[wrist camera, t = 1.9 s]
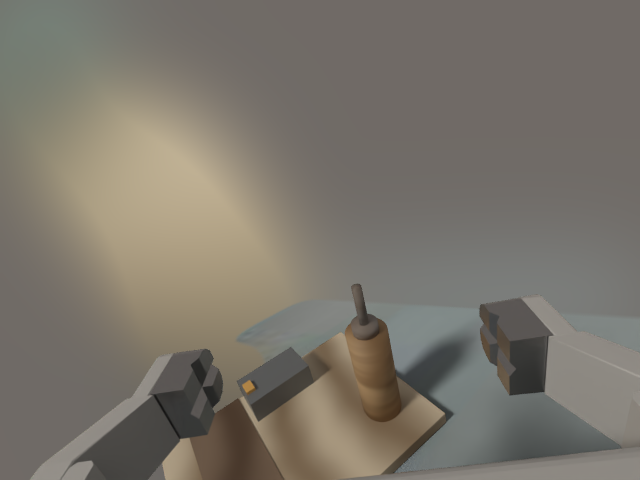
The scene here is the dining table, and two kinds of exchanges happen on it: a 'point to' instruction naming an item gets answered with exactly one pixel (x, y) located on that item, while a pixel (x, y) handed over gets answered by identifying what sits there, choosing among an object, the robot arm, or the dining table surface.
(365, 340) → the awl
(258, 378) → the block
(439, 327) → the dining table surface
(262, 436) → the subfloor panel
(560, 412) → the dining table surface
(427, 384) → the dining table surface
